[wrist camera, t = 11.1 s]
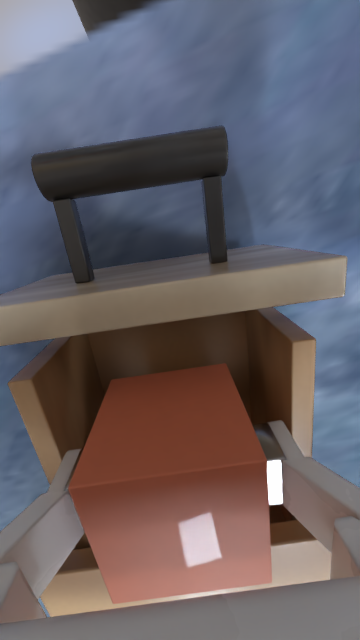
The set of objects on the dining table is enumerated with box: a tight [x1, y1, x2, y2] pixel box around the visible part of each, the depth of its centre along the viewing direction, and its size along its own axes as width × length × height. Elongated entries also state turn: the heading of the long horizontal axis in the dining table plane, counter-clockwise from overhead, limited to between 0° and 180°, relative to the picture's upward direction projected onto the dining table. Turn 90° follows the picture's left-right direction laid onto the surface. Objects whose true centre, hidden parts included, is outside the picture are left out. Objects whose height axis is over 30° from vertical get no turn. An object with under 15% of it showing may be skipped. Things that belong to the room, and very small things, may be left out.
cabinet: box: [40, 458, 332, 617], centre depth 16 cm, size 14×13×9 cm
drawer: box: [0, 126, 347, 549], centre depth 12 cm, size 17×11×7 cm
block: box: [68, 363, 272, 604], centre depth 9 cm, size 5×5×5 cm
